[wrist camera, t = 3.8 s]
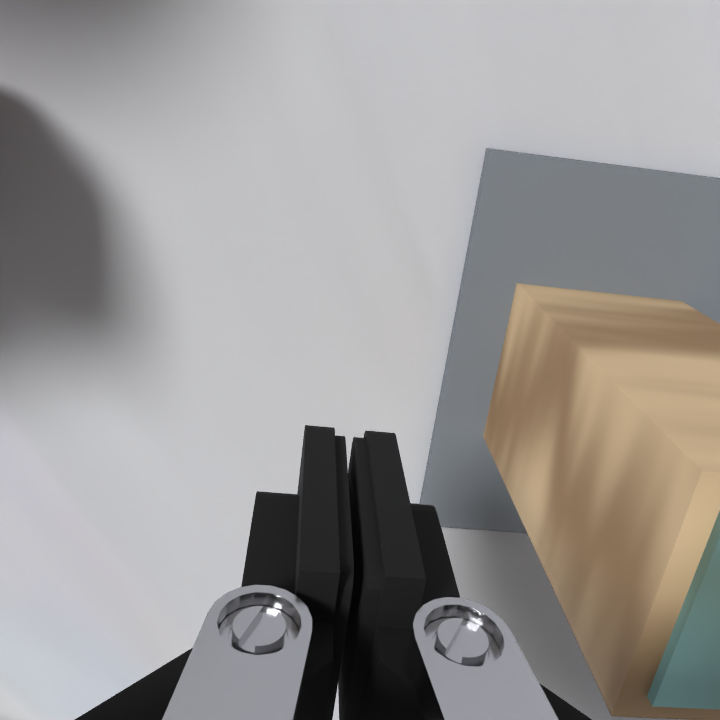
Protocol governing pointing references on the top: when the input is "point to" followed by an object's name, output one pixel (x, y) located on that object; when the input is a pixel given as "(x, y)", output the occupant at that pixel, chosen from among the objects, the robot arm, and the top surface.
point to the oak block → (620, 484)
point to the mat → (561, 270)
